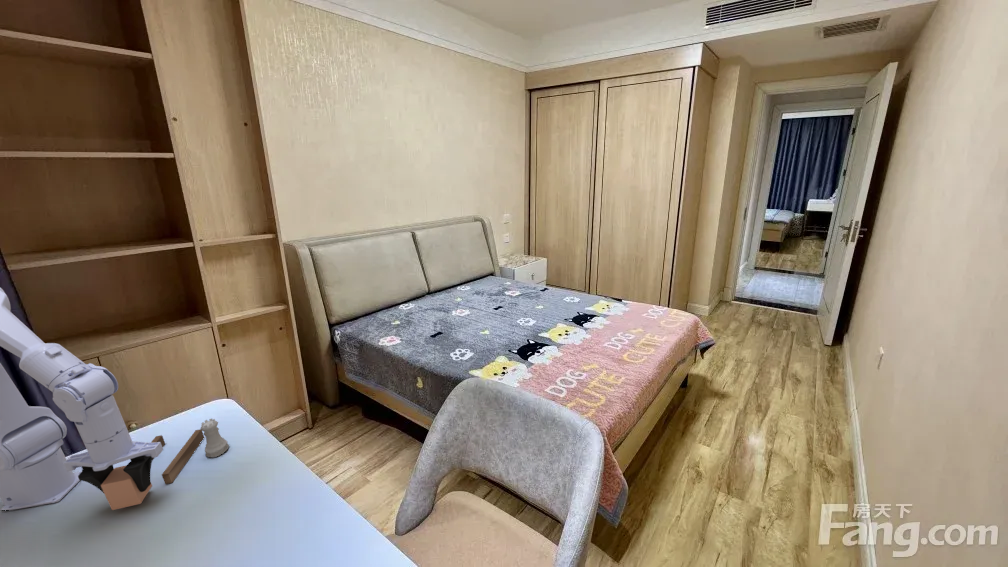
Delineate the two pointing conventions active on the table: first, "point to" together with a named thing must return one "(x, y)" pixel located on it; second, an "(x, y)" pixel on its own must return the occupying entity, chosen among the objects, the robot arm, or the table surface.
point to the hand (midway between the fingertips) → (130, 490)
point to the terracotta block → (122, 489)
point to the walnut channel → (180, 455)
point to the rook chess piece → (213, 439)
